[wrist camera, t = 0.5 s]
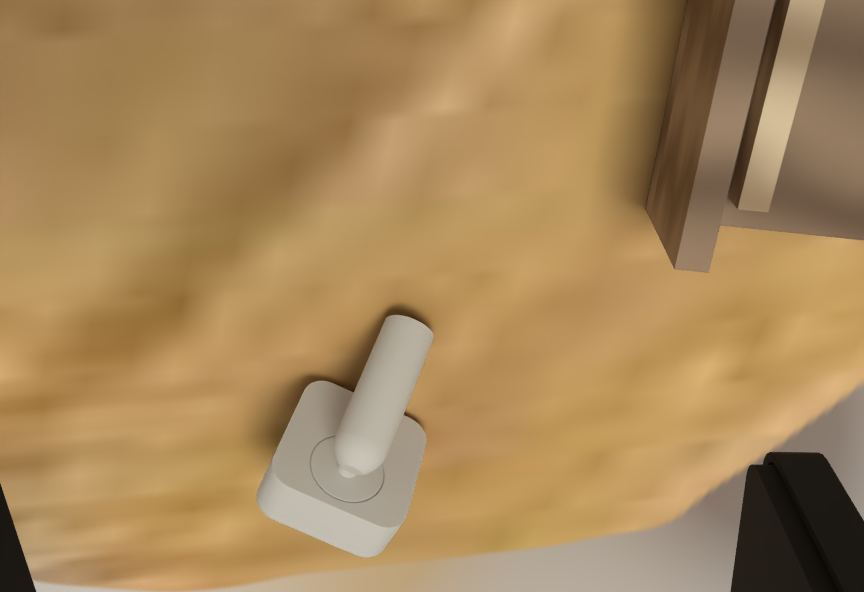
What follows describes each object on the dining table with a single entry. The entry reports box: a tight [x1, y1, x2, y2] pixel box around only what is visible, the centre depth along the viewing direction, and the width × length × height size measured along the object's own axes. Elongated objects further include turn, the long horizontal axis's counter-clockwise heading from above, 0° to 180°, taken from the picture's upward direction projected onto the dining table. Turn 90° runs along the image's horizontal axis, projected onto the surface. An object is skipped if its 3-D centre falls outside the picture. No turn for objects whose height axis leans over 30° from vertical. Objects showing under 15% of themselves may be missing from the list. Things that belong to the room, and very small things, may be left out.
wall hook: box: [257, 315, 434, 557], centre depth 46 cm, size 8×10×10 cm
